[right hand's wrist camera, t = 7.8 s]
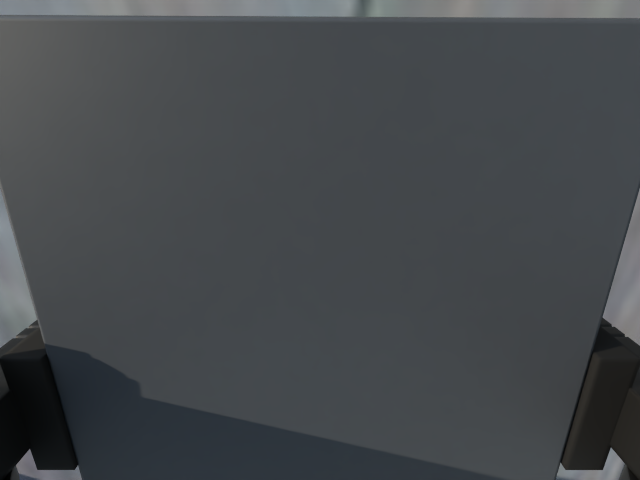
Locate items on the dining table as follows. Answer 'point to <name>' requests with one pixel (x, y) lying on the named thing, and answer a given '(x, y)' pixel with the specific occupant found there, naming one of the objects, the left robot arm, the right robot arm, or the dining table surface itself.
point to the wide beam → (319, 236)
